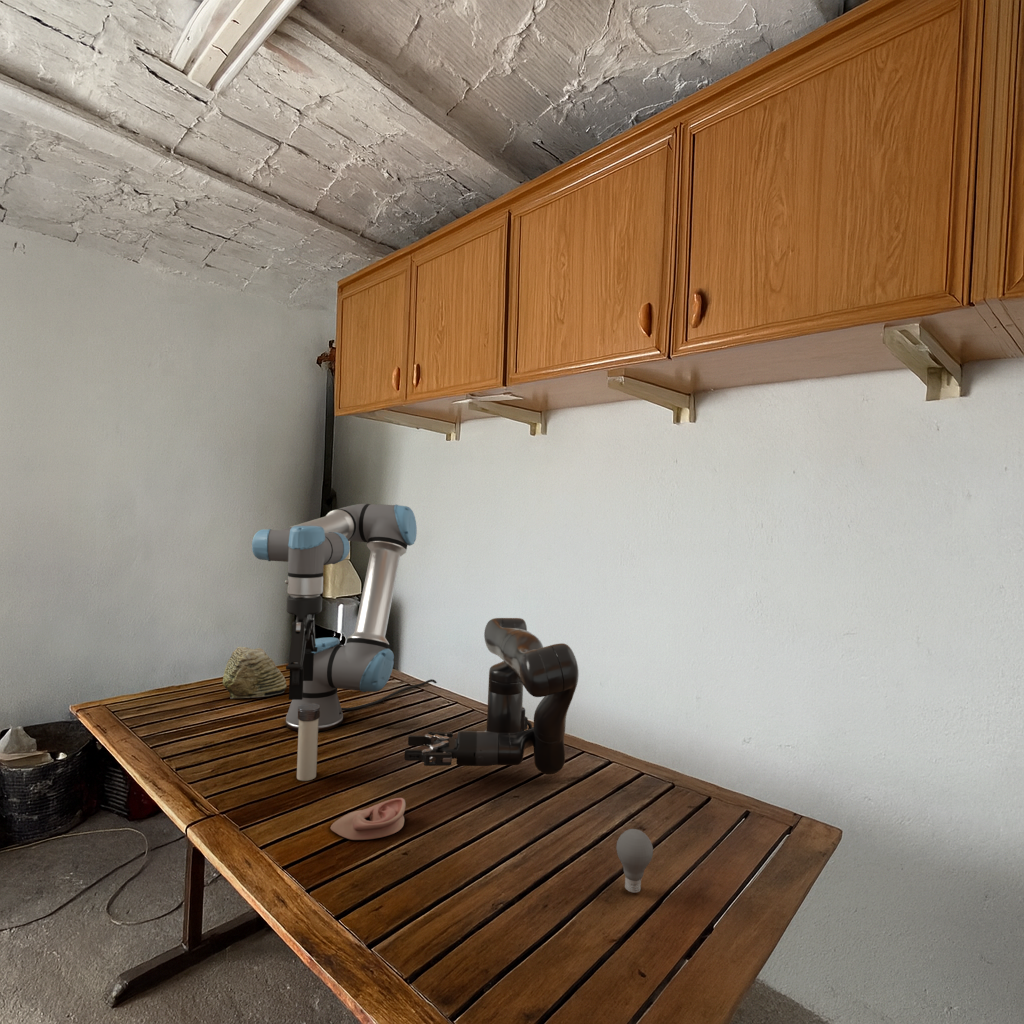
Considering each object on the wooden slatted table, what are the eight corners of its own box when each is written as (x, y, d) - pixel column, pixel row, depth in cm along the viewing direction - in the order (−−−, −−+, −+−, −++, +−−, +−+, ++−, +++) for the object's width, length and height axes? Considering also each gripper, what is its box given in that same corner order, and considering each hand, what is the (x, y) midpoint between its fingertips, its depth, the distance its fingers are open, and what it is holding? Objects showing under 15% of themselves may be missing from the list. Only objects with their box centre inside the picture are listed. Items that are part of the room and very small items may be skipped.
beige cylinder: (292, 776, 142) (295, 708, 142) (308, 770, 146) (311, 704, 146) (304, 782, 140) (306, 713, 140) (320, 776, 143) (322, 708, 143)
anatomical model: (323, 814, 118) (350, 787, 130) (322, 835, 118) (350, 806, 130) (389, 824, 116) (412, 796, 127) (389, 846, 116) (411, 816, 127)
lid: (293, 717, 142) (293, 706, 142) (311, 712, 146) (311, 701, 146) (306, 722, 139) (306, 711, 139) (324, 717, 143) (324, 706, 143)
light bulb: (610, 879, 108) (613, 822, 108) (644, 879, 109) (647, 822, 109) (619, 902, 102) (622, 840, 102) (655, 901, 103) (658, 840, 103)
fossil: (218, 695, 195) (220, 647, 195) (278, 685, 208) (279, 640, 207) (228, 703, 189) (230, 653, 188) (289, 692, 201) (290, 645, 201)
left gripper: (297, 586, 153) (294, 673, 154) (274, 604, 129) (271, 708, 129) (329, 587, 154) (326, 673, 155) (313, 605, 130) (309, 707, 130)
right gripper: (477, 721, 152) (409, 720, 151) (478, 743, 138) (404, 742, 137) (476, 752, 152) (408, 751, 151) (477, 778, 138) (402, 777, 137)
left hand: (301, 689), depth 142 cm, fingers open, 13 cm apart
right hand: (406, 747), depth 144 cm, fingers open, 8 cm apart
